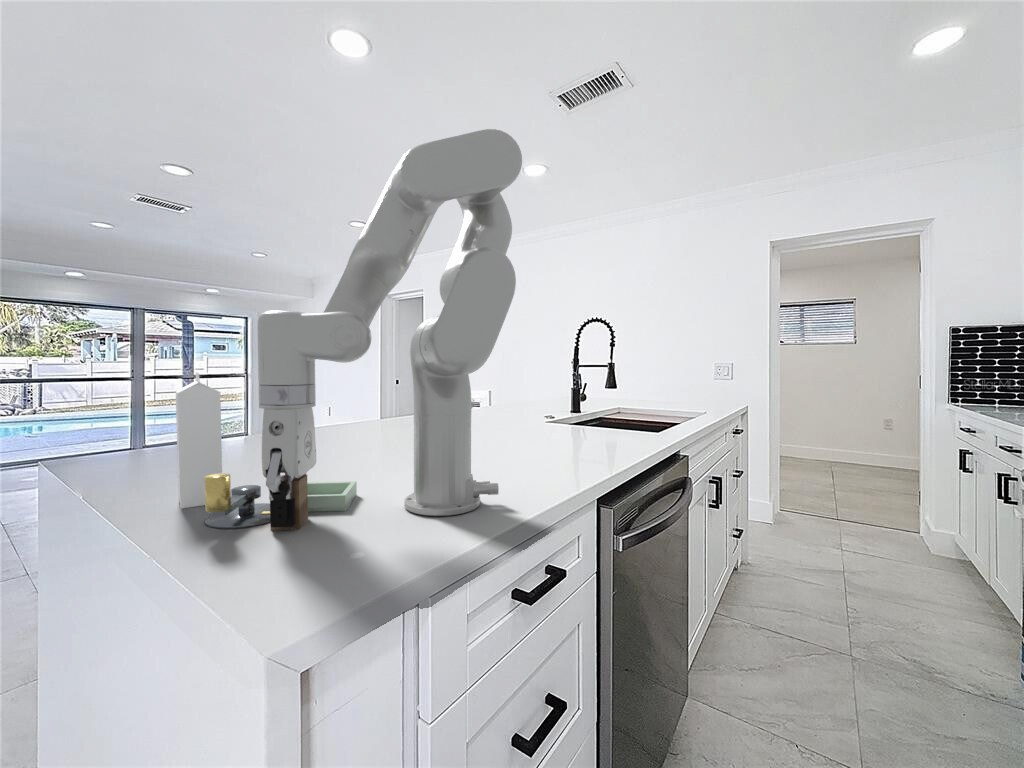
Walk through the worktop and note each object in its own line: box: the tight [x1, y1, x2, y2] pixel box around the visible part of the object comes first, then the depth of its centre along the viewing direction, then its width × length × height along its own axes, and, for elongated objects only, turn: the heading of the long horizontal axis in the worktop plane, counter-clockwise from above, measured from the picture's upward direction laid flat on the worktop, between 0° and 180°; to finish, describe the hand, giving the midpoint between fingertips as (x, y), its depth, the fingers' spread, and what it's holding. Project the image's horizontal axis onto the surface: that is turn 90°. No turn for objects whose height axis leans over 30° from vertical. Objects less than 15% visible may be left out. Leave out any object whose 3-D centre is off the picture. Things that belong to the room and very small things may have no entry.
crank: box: [204, 473, 262, 516], centre depth 71 cm, size 12×4×6 cm, turn 7°
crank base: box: [204, 499, 270, 530], centre depth 75 cm, size 11×11×3 cm
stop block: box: [269, 474, 309, 531], centre depth 72 cm, size 4×4×7 cm
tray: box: [307, 480, 358, 513], centre depth 83 cm, size 9×9×2 cm
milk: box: [175, 371, 223, 510], centre depth 82 cm, size 6×6×22 cm
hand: (289, 518), depth 72 cm, fingers open, 4 cm apart
